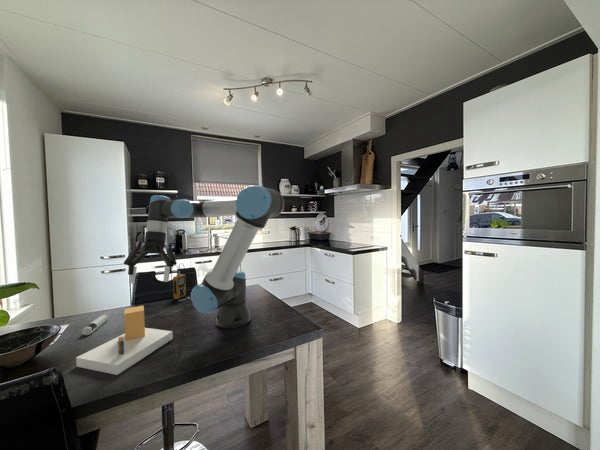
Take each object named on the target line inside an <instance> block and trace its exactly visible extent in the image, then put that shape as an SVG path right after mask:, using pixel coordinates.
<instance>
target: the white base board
mask: <svg viewBox="0 0 600 450" xmlns="http://www.w3.org/2000/svg"><path fill="white" fill-rule="evenodd" d="M173 333H174V332H173V331H172V330H165V329H158V328H152V327H151V328H149V327H145V336H144V337H140V338H136V339H132V340H128V341H125V333H122V334H120V335H119V336H116V337H115V338H113V339H110V340H109V341H107V342H105V343H103V344H101V345H99V346H96V347H95V348H92V349H90V350H89V351H86V352H85V353H82V354H80V355H78V356H76V358H75V360H76V368H77V367H78V368H83V369H86V370H87V369H88V370H91V371H96V372H101V373H106V374H110V375H115V376H118V375H119V374H121V373H122V372H124V371H125V370H127V369H129V368H130V367H132V366H133V365H135V364H136V363H138V362H139V361H142V360H143V359H144V358H145V357H147V356H149V355H150V354H152V353H154V351H156V350H157V349H159V348H161V347H163V346H164V345H166V344H168V342H170V341H172V340H173V338H174V336H173Z"/></svg>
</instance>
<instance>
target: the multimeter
mask: <svg viewBox="0 0 600 450" xmlns="http://www.w3.org/2000/svg"><path fill="white" fill-rule="evenodd" d="M180 265H181V263H179V264H178V265H177V264H176V265H174V266H172V270H171V274H170V280H171V281H170V282H171V283H170V284H171V286H172V290H173V291H171V296H172V298H173V299H172V302H175V303H177V302H182V301H184V300H186V298H187V299H189V300H190V299H191V297H189V296H191V292H188V291H187V279H186V273H185V268H186V267H185V265H184V264H182V266H183V269H184V270H183V273H182V274H181V272H180V271H181V267H180ZM174 267H177V269H178V271H177V275H176V276H173V277H172V275H173V269H174ZM186 293H187V294H189V295H187V294H186ZM185 296H186V298H185V299H184V298H183V297H185ZM180 298H183V299H180Z"/></svg>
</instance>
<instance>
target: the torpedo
mask: <svg viewBox="0 0 600 450" xmlns="http://www.w3.org/2000/svg"><path fill="white" fill-rule="evenodd" d="M102 310H104V308H102ZM109 318H110V315H109V314H108V312H106V313H105V314H101V315H99V316H98V317H96V318H95V319H94V320H93V321H91V322H90V323H88V325H87V326H85V327H83V328H82V330H81V333H82V336H89V335H91V334H93V332H95V331H96V330H97V329H99V328H100V327H101V326H102V325H104V324H105V323H106V322H107V321H108V319H109ZM92 329H93V330H92Z"/></svg>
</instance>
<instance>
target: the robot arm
mask: <svg viewBox="0 0 600 450" xmlns="http://www.w3.org/2000/svg"><path fill="white" fill-rule="evenodd" d="M284 208H285V199H284V197H283V196H282V194H281V193H280V192H279V191H278V190H276V189H273V188H268V187H265V186H262V185H248V186H246V187H244V188H242V189H241V190H240V191H239V193H238V194H237V196H236V198H234V197H233V198H225V199H224V198H222V199H214V200H213V199H212V200H200V201H199V200H198V201H194V200H188V199H180V198H179V199H172V200H171V198H170V197H168V196H165V195H161V194H160V195H157V194H155V195H152V196H151V197H150V201H149V204H148V213H147V220H146V221H147V222H146V232H145V235H144V242H142V241H135V245H134V247H133V249H132V250H131V252H130V253H129V254H128V256H127V257H126V258H125V260H124V262H123V265H126V266H128V271H127V274H128V276H129V279H128V280H129V282H128V284H132V285H133V284H135V283H136V276H137V269H138V267H137V266H136V265H137V264H138V263H139V262H140V261H142V259H143V258H145V256H147V255H148V254H156V255H157V254H158V255H159V256H160V257H161V259H162V260H163V262H164V264H165V266H164V272H163V282H165V283H166V282H167V283H168V282H169V281H170V275H171V271H173V269H172V267H173V266H174V267H175V265H176V266H177V264H178V263H177V259H176V258H175V254H174V252H173V245H172V244H171V243H167V244H166V243H165V242H166V237H167V233H166V232H167V231H168V229H167V228H168V222H169V219H171V218H172V219H177V218H178V219H185V218H186V219H187V218H188V219H189V218H190V219H191V218H200V219H201V218H202V219H203V218H209V217H210V218H212V217H230V216H231V217H232V216H235V217H236V222H235V223H234V226H233V227H232V230H231V232H230V234H229V236H228V238H227V240H226V242H225V244H224V246H223V248H222V250H221V251H220V254H219V256H218V258H217V261H216V262H215V265H214V266H213V268H212V270H209V271H207V273H205V275H204V277H203V280H202V282H201V283H199V284H197V285H195V286H194V287H193V288H192V290H191V292H190V294H191V295H190V299H191V302H192V305H193V307H194V309H195V310H197V311H198V312H199V313H202V314H204V315H207V314H211V313H213V312H215V311H217V310H218V311H217V314H216V318H215V325H216V326H217V327H219V328H222V329H235V328H236V329H237V328H239V327H240V328H241V327H243V326H245V325H247V324H249V322H251V312H250V309H249V307H248V304H247V283H246V282H247V278H246V273H245V271H243V270H242V271H241V270H239V268H240V266H241V264H242V262H243V260H244V258H245V256H246V254H247V253H248V251H249V248H250V247H251V245H252V243H253V241H254V239H255V237H256V235H257V233H258V231H259V230H262V229H264V228H265V227H266V225H267V223H268V221H269V219H273V218H276V217H278V216H279V215H280V214H282V212H283V210H284ZM143 247H144V249H142V250H141V248H143ZM164 249H165V250H166V251H165V250H164ZM140 250H141V252H140V253H139V251H140ZM138 253H139V254H138ZM166 253H167V254H166Z"/></svg>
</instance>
